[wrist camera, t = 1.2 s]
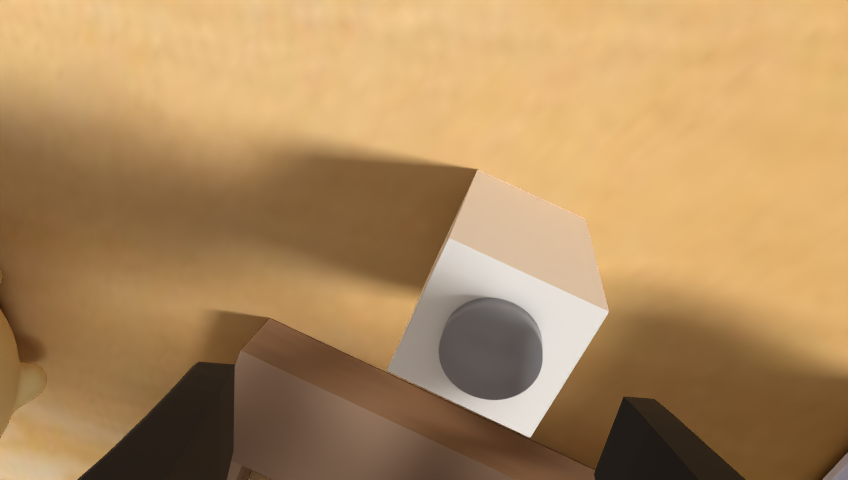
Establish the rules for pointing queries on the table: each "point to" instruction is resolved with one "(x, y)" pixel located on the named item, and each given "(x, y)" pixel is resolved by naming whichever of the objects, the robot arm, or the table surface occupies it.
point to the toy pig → (15, 375)
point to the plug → (504, 306)
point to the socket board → (364, 423)
